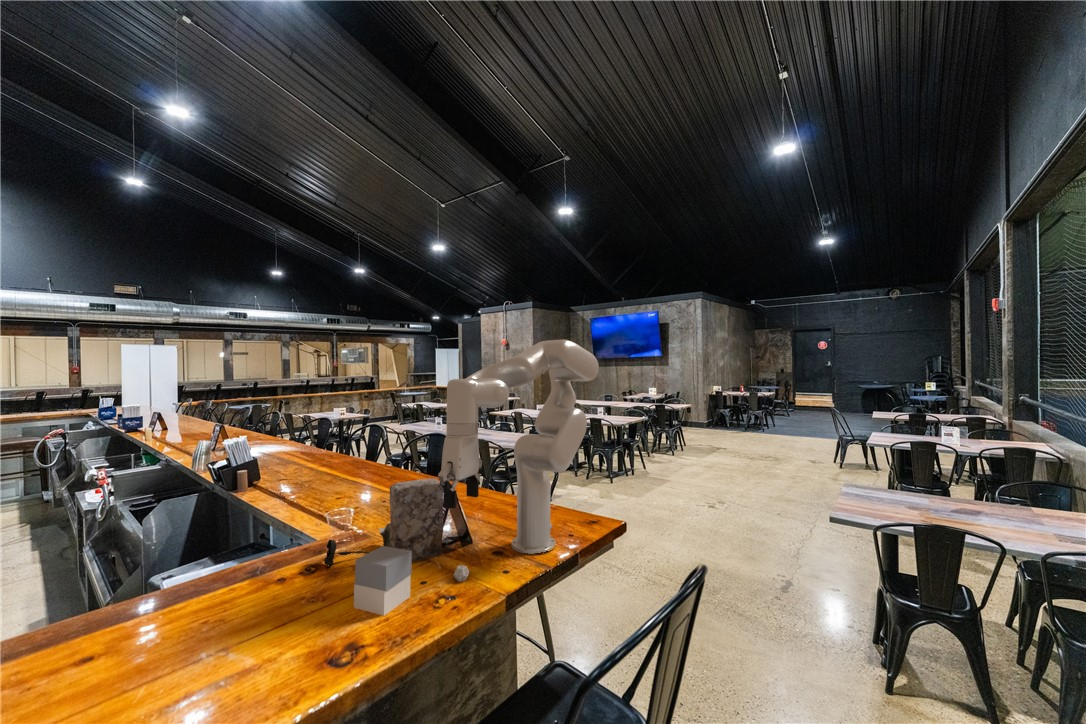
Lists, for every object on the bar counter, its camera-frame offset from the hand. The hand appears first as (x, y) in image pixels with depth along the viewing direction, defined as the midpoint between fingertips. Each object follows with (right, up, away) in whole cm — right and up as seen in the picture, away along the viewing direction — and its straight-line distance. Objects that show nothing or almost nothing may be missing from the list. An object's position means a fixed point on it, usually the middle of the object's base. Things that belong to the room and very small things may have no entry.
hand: (461, 501), depth 101 cm
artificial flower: (-28, -19, +14) cm, 36 cm away
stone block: (-14, -19, +12) cm, 26 cm away
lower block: (-15, -18, -11) cm, 26 cm away
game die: (0, -19, -1) cm, 19 cm away
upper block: (-15, -13, -11) cm, 22 cm away
